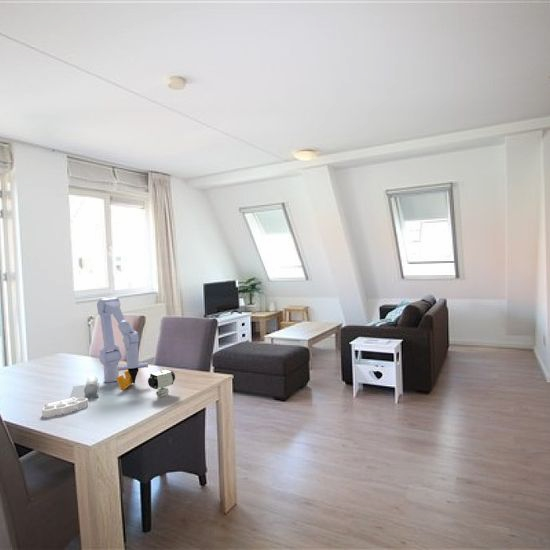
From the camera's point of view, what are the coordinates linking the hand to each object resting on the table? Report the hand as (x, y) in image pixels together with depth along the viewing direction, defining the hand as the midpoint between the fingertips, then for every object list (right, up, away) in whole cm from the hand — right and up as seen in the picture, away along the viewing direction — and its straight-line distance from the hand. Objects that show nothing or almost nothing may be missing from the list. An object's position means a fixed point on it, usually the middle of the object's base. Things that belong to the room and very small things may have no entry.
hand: (133, 383), depth 204 cm
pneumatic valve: (+19, -2, -17) cm, 26 cm away
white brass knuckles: (-19, -4, -30) cm, 36 cm away
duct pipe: (-21, -3, -8) cm, 22 cm away
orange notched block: (-3, -1, -2) cm, 4 cm away
